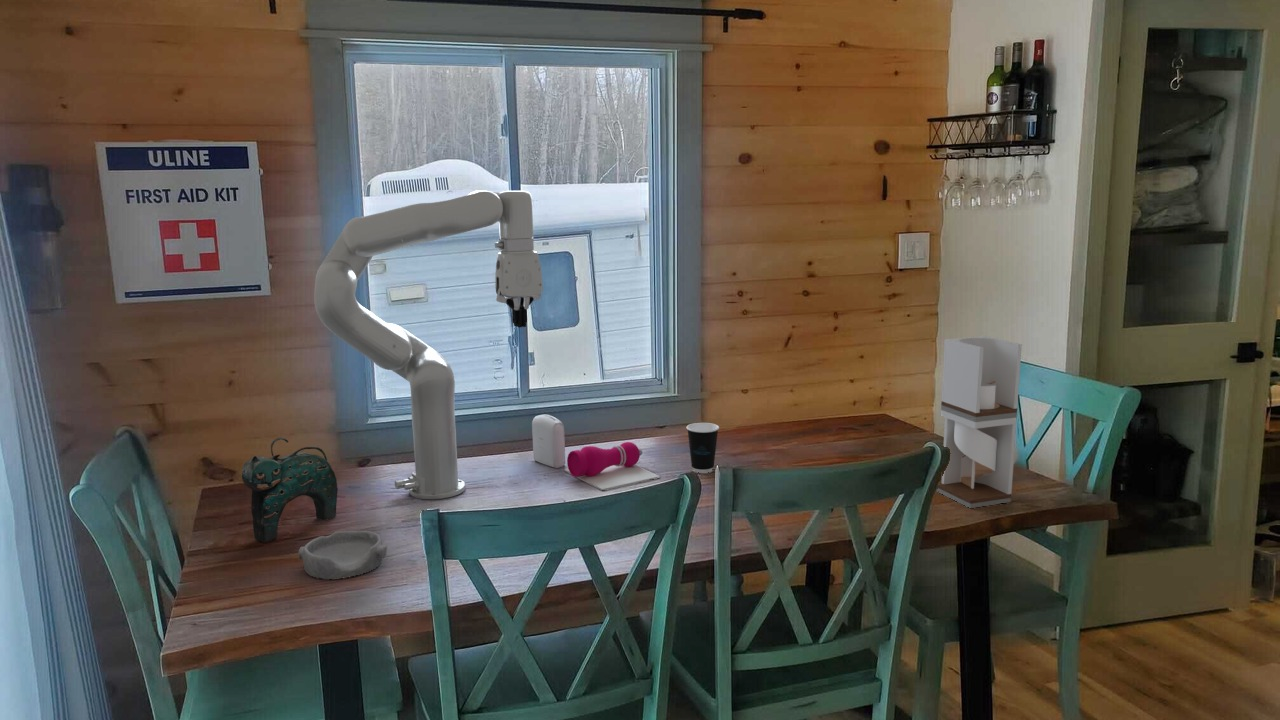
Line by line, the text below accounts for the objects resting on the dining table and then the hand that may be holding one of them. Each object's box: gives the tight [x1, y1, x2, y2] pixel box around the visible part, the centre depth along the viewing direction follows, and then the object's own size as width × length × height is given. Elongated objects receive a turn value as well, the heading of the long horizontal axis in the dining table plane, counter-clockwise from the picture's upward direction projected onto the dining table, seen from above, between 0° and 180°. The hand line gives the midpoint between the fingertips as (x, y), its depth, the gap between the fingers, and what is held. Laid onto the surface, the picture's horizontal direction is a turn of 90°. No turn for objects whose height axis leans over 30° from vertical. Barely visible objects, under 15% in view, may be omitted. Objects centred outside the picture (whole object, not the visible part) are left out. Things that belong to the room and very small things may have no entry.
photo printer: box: [531, 414, 566, 469], centre depth 231 cm, size 10×4×12 cm, turn 39°
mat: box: [564, 464, 661, 491], centre depth 222 cm, size 16×18×1 cm
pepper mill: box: [566, 441, 643, 478], centre depth 223 cm, size 7×7×20 cm
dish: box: [298, 530, 388, 580], centre depth 171 cm, size 14×14×5 cm
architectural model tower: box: [936, 335, 1023, 509], centre depth 200 cm, size 11×11×35 cm
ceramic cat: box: [241, 437, 339, 544], centre depth 188 cm, size 20×6×20 cm, turn 145°
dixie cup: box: [685, 422, 720, 474], centre depth 224 cm, size 8×8×11 cm
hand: (519, 326), depth 212 cm, fingers closed
